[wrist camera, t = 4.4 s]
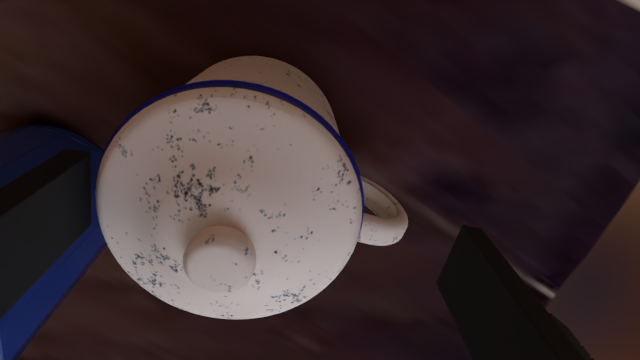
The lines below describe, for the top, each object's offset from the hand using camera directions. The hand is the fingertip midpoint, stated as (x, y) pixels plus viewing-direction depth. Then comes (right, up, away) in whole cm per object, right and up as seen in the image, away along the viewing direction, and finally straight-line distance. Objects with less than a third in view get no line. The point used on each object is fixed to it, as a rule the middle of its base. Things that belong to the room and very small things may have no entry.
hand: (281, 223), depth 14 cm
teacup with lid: (-1, +4, +8) cm, 9 cm away
